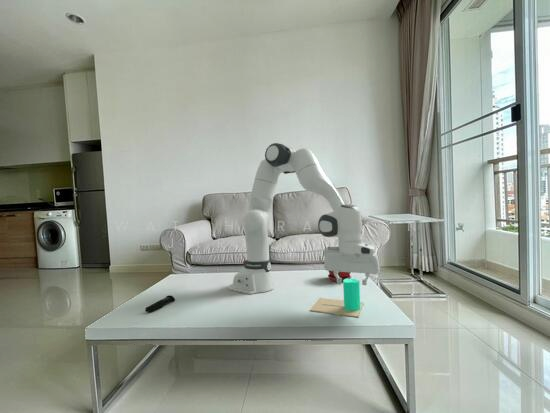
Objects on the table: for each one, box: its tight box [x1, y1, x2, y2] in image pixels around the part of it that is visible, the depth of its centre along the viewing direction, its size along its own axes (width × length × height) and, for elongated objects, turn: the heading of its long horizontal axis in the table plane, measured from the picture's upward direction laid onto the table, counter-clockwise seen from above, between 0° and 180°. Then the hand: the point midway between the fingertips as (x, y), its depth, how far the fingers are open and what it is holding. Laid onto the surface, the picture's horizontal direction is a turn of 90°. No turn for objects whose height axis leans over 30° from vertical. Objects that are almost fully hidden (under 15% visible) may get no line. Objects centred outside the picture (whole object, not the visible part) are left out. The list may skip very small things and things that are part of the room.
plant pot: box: [327, 271, 352, 282], centre depth 147 cm, size 13×13×12 cm
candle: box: [342, 278, 361, 311], centre depth 107 cm, size 6×6×12 cm
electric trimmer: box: [144, 295, 175, 313], centre depth 119 cm, size 4×16×3 cm, turn 162°
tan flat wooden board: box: [309, 297, 365, 318], centre depth 110 cm, size 18×14×1 cm
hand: (351, 283), depth 107 cm, fingers open, 8 cm apart
